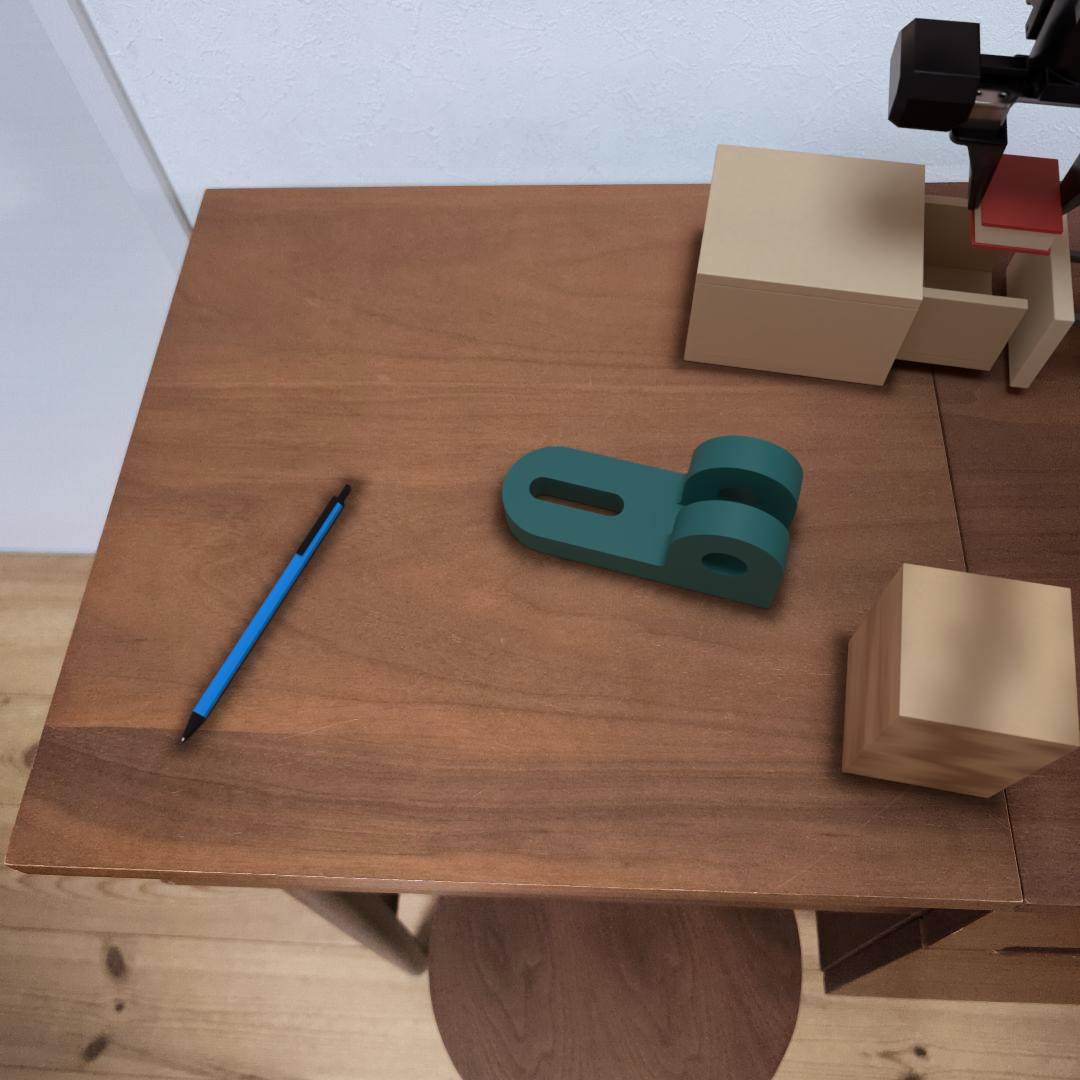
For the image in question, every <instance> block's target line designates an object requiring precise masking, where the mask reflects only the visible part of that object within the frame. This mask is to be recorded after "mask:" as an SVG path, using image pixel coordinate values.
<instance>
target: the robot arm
mask: <svg viewBox="0 0 1080 1080" xmlns="http://www.w3.org/2000/svg"><path fill="white" fill-rule="evenodd" d="M1025 4H1026V5H1027V6H1032V8H1031V10H1030V13H1029V15H1028V18H1027V20H1026V22H1025V24H1024V29H1025V40H1029V41H1034V44H1033V46H1032V48H1031V50H1030V51H1029V54H1021V53H1020V54H1019V53H1017V54H1014V55H1012V56H1011V55H1001V54H1000V55H999V54H989V53H988V54H987V53H982V52H981V23H980V22H973V21H972V22H971V21H960V20H949V19H948V20H947V19H937V18H925V17H924V18H923V17H922V18H921V17H915V18H913V19H912V20H911V21H910V22H909V23H907V24H906V25H905V26H903V28H901V30H900V31H898V34H897V37H896V41H895V44H894V46H893V49H892V52H891V57H890V60H889V82H888V83H889V85H888V86H889V87H888V103H887V110H888V111H887V121H889V122H890V123H891V124H893V125H894V126H895V127H897V128H898V129H908V130H909V129H911V130H919V131H920V130H921V131H930V132H940V133H948V138H949V140H950V142H951V143H953V144H955V145H958V146H965V147H967V154H968V159H969V167H968V168H969V169H968V183H967V188H968V189H967V199H968V210H973V211H974V210H975V209H976V208H977V206H978V205H979V204H980V202H981V200H982V199H983V198H984V196H985V193H986V191H987V189H988V187H989V184H990V182H991V180H992V178H993V175H994V173H995V171H996V169H997V166H998V164H999V162H1000V160H1001V158H1002V155H1003V154H1005V151H1006V149H1007V146H1008V143H1009V140H1008V139H1009V137H1008V114H1009V112H1010V110H1011V108H1012V107H1013V106H1014V105H1015V104H1016V103H1017V104H1027V105H1028V104H1030V105H1041V106H1053V107H1062V108H1071V109H1072V108H1073V109H1080V0H1025ZM1060 199H1061V207H1062V216H1063V215H1065V214H1066V213H1067V214H1068V213H1069V212H1071V211H1073V210H1075V209H1076V208H1078V207H1080V152H1079V153H1078V155H1077V156H1076V158H1075V160H1074V162H1073V163H1072V164H1071V166H1070V167H1069V168H1068V170H1067V172H1066V174H1065V175H1064V176H1063V179H1062V180H1061V181H1060Z"/></svg>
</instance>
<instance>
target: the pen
mask: <svg viewBox="0 0 1080 1080" xmlns="http://www.w3.org/2000/svg"><path fill="white" fill-rule="evenodd" d="M351 488H352V486H351V485H350V484H346V483H345V485H344V487H343V489H342V490H341V491H340V493H339V494H338V496H336V495H333V496H332V497H331V498H330V500H329V501H328V503H327V504H326V506H325V507H324V509H323V511H322V512H321V514H320V515H319V517H318V518H317V520H316V521H315V522H314V524H313V526H312V528H311V529H310V530H309V532H308V533H307V535H306V536H305V538H303V539H304V540H303V541H302V543H301V544H300V545H299V547H298V549H297V550H296V552H295V554H294V556H293V557H292V559H291V561H290V562H289V563H288V565H287V567H286V568H285V569H284V571H283V573H282V574H281V575H280V577H279V579H278V580H277V581H276V582H275V585H274V586H273V588H272V589H271V590H270V592H269V594H268V596H267V597H266V598H265V600H264V602H263V603H262V605H261V606H260V608H259V609H258V611H257V612H256V614H255V615H254V617H253V618H252V619H251V621H250V623H249V624H248V625H247V627H246V629H245V631H244V632H243V634H242V635H241V636H240V638H239V640H238V641H237V642H236V644H235V646H234V647H233V649H232V650H231V651H230V653H229V655H228V656H227V657H226V660H225V661H224V662H223V663H222V665H221V667H220V668H219V669H218V671H217V673H216V674H215V676H214V678H213V679H212V680H211V682H210V683H209V685H208V686H207V688H206V690H205V691H204V693H203V694H202V696H201V697H200V698H199V701H198V702H197V703H196V704H195V707H194V708H193V709H192V711H191V713H190V716H189V718H188V721H187V724H186V726H185V728H184V731H183V734H182V737H181V741H182V742H184V741H185V740H186V739H188V738H189V736H190V735H192V734H193V732H194V731H195V730H196V729H197V728H198V727H199V726H200V725H201V724H203V722H204V721H205V720H206V719H207V718H208V716H209V715H210V713H211V712H212V709H213V708H214V706H215V705H216V703H217V702H218V700H219V699H220V697H221V696H222V695H223V693H224V691H225V690H226V688H227V686H228V685H229V684H230V682H231V680H232V679H233V677H234V676H235V675H236V673H237V671H238V670H239V668H240V667H241V665H242V663H243V662H244V660H245V659H246V657H247V656H248V654H249V653H250V651H251V650H252V648H253V647H254V645H255V644H256V642H257V640H258V639H259V637H260V636H261V634H262V633H263V631H264V629H265V628H266V627H267V625H268V623H270V621H271V619H272V617H273V616H274V614H275V612H276V611H277V610H278V608H279V607H280V605H281V604H282V602H283V600H284V599H285V597H286V596H287V594H288V593H289V592H290V590H291V588H292V587H293V585H294V584H295V581H296V580H297V579H298V577H299V576H300V574H301V573H302V571H303V569H304V568H305V566H306V565H307V564H308V562H309V560H310V559H311V557H312V555H313V554H314V553H315V551H316V549H317V548H318V547H319V545H320V544H321V542H322V540H323V539H324V537H325V535H326V534H327V533H328V531H329V529H330V527H331V526H332V525H333V523H334V522H335V520H336V519H337V517H338V516H339V514H340V512H341V511H342V509H343V508H344V506H345V502H344V499H345V498H346V496H347V495H348V493H349V491H350V490H351Z"/></svg>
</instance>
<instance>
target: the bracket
mask: <svg viewBox="0 0 1080 1080" xmlns="http://www.w3.org/2000/svg"><path fill="white" fill-rule="evenodd" d="M803 480H804V469H803V466H802V465H801V463H800V462H799V461H798V459H797V458H796V457H795V456H794V455H793V454H792V453H791V452H789V451H788V450H786V449H785V448H783V447H781V445H778V444H775V443H773V442H771V441H768V440H765V439H761V438H758V437H753V436H747V435H737V434H736V435H733V434H732V435H722V436H716V437H712V438H710V439H708V440H705V441H702V442H701V443H700V444H699V445H697V447H696V448H695V449H694V450H693V452H692V455H691V459H690V463H689V467H688V471H687V473H681V472H677V471H673V470H669V469H664V468H660V467H656V466H651V465H647V464H643V463H638V462H633V461H630V460H626V459H620V458H616V457H611V456H607V455H603V454H600V453H599V454H598V453H595V452H590V451H586V450H582V449H577V448H572V447H568V446H561V445H553V446H545V447H540V448H537V449H534V450H531V451H530V452H528V453H526V454H524V455H523V456H521V457H520V458H519V459H517V460H516V461H515V462H514V463H513V464H512V465H511V466H510V468H509V470H508V471H507V473H506V475H505V477H504V480H503V483H502V488H501V489H502V490H501V496H502V497H501V498H502V503H503V504H502V505H503V511H504V517H505V521H506V524H507V526H508V527H507V528H508V529H509V531H510V533H511V534H512V535H513V536H514V538H515V539H516V540H517V541H518V542H520V543H521V544H522V545H523V546H525V547H526V548H528V549H530V550H532V551H535V552H538V553H541V554H545V555H550V556H553V557H557V558H562V559H566V560H570V561H573V562H577V563H581V564H586V565H589V566H592V567H597V568H601V569H606V570H610V571H613V572H617V573H621V574H625V575H630V576H632V577H637V578H641V579H646V580H650V581H654V582H658V583H662V584H665V585H670V586H674V587H677V588H681V589H686V590H688V591H689V590H690V591H694V592H697V593H701V594H706V595H709V596H712V597H713V596H714V597H717V598H722V599H726V600H730V601H734V602H738V603H742V604H746V605H749V606H753V607H758V608H761V609H765V610H770V607H771V605H772V603H773V601H774V599H775V597H776V594H777V592H778V590H779V588H780V585H781V583H782V581H783V580H784V579H783V578H784V576H785V569H786V566H787V565H786V564H787V561H788V555H789V551H790V550H789V549H790V545H791V535H790V532H789V531H790V528H791V525H792V523H793V520H794V518H795V516H796V513H797V509H798V504H799V500H800V494H801V490H802V484H803ZM542 495H547V496H551V497H554V498H557V499H558V498H559V499H564V500H568V501H571V502H575V503H580V504H584V505H588V506H592V507H597V508H600V509H605V510H609V511H613V512H616V513H618V514H616V515H612V516H611V515H605V514H602V513H597V512H592V511H588V510H585V509H579V508H576V507H571V506H569V505H568V506H567V505H564V504H559V503H554V502H550V501H547V500H542V499H538V498H536V497H538V496H542Z"/></svg>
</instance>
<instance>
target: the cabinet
mask: <svg viewBox="0 0 1080 1080" xmlns="http://www.w3.org/2000/svg"><path fill="white" fill-rule="evenodd" d="M925 194H926V164H922V163H913V162H902V161H901V162H900V161H892V160H883V159H882V160H881V159H872V158H863V157H852V156H842V155H834V154H823V153H812V152H804V151H793V150H785V149H784V150H783V149H773V148H764V147H755V146H754V147H753V146H745V145H744V146H743V145H733V144H725V143H718V144H717V145H716V151H715V157H714V163H713V169H712V177H711V181H710V188H709V194H708V201H707V208H706V213H705V218H704V226H703V232H702V233H703V234H702V238H701V245H700V251H699V257H698V263H697V269H696V275H695V282H694V288H693V294H692V295H693V296H692V304H691V310H690V315H689V321H688V322H689V323H688V328H687V336H686V342H685V349H684V356H683V361H688V362H694V363H703V364H708V365H709V364H711V365H716V366H717V365H718V366H726V367H734V368H741V369H749V370H756V371H762V372H763V371H764V372H771V373H779V374H787V375H793V376H794V375H796V376H802V377H811V378H817V379H826V380H832V381H833V380H834V381H842V382H848V383H857V384H863V385H872V386H879V387H883V386H884V384H885V382H886V379H887V377H888V375H889V373H890V371H891V368H892V367H893V364H894V362H895V360H896V359H895V358H896V356H897V354H898V352H899V350H900V347H901V345H902V343H903V341H904V339H905V337H906V335H907V333H908V330H909V328H910V326H911V324H912V322H913V320H914V318H915V316H916V313H917V311H918V308H919V307H920V304H921V302H922V300H923V262H924V207H925Z"/></svg>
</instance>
